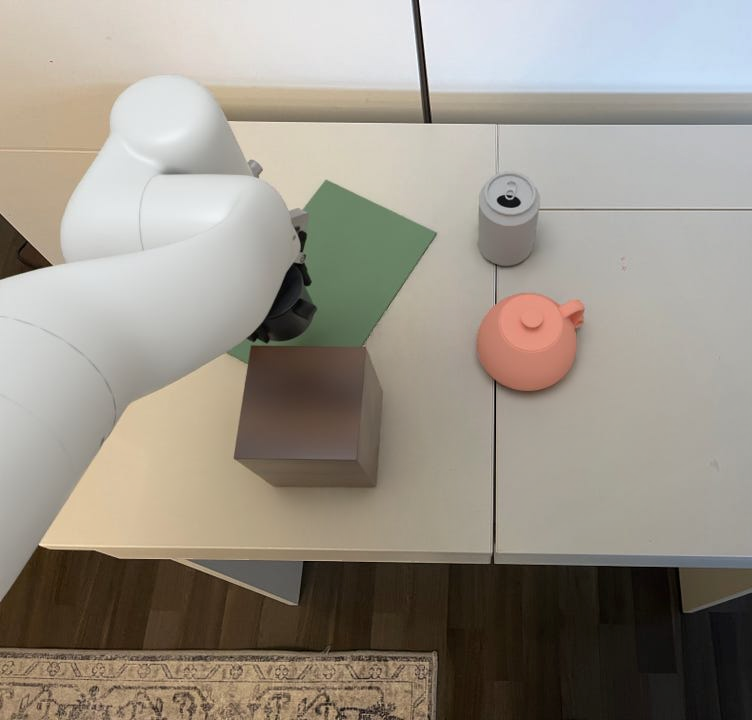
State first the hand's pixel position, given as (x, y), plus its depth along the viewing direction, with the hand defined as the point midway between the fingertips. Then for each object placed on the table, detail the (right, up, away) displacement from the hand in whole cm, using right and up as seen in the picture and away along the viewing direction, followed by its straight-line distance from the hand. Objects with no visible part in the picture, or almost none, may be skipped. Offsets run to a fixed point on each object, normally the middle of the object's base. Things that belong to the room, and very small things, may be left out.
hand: (278, 306), depth 72 cm
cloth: (+2, +4, +15) cm, 16 cm away
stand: (+4, -15, +7) cm, 17 cm away
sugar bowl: (+28, -4, +12) cm, 31 cm away
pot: (0, -1, +1) cm, 2 cm away
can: (+25, +10, +18) cm, 33 cm away
